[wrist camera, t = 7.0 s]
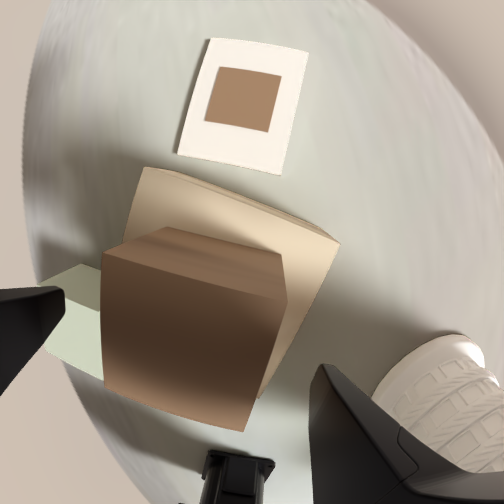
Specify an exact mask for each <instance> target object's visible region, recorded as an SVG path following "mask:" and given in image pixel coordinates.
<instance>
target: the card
mask: <svg viewBox="0 0 504 504" xmlns="http://www.w3.org/2000/svg"><path fill="white" fill-rule="evenodd" d="M308 54H309V52H305V51H301V50H296V49H292V48H287V47H282V46H277V45H271V44H265V43H259V42H252V41H244V40H235V39H225V38H211V40H210V43H209V46H208V48H207V51H206V54H205V57H204V60H203V63H202V66H201V69H200V72H199V75H198V79H197V82H196V85H195V88H194V92H193V95H192V99H191V102H190V106H189V109H188V113H187V116H186V120H185V124H184V128H183V132H182V136H181V140H180V144H179V148H178V152H177V155H180V156H186V157H192V158H198V159H203V160H209V161H214V162H219V163H224V164H229V165H234V166H239V167H244V168H248V169H253V170H257V171H262V172H266V173H271V174H275V175H279V176H281V172H282V167H283V163H284V159H285V155H286V150H287V146H288V142H289V138H290V133H291V129H292V125H293V120H294V116H295V112H296V107H297V103H298V99H299V94H300V90H301V85H302V81H303V77H304V72H305V68H306V63H307V59H308Z"/></svg>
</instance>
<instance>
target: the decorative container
mask: <svg viewBox="0 0 504 504" xmlns="http://www.w3.org/2000/svg"><path fill="white" fill-rule="evenodd" d="M371 400H373V401H374V402H375V403H376V404H377V405H378V406H379V407H381V408H382V409H383V410H384V411H385V412H386V413H387V414H389V415H390V416H391V417H392V418H393V419H394V420H396V421H397V422H398V423H399V424H400V426H403V427H404V428H405V429H406V430H407V431H408V432H410V433H411V434H412V435H413V436H415V437H416V438H417V439H418V440H420V441H421V442H422V443H424V444H425V445H426V446H428V447H429V448H431V449H432V450H434V451H435V452H436V453H438V454H439V455H441V456H442V457H444V458H445V459H447V460H448V461H450V462H452V463H453V464H455V465H456V466H458V467H459V468H461V469H463V470H465V471H468V472H472V473H488V472H498V471H504V390H501V388H500V387H499V384H498V382H497V379H496V377H495V375H494V374H493V373H492V372H491V371H489V370H487V369H485V368H484V355H483V353H482V351H481V349H480V348H479V347H478V346H477V345H476V344H475V343H474V342H473V341H472V340H470V339H469V338H467V337H466V336H464V335H456V334H451V335H446V336H441V337H437V338H435V339H433V340H431V341H429V342H427V343H425V344H422V345H421V346H419V347H418V348H416V349H415V350H414V351H412V352H411V353H409V354H407V355H406V356H405V357H404V358H403V359H402V360H401V361H399V362H398V363H397V364H396V365H395V366H394V367H393V368H392V369H391V370H390V371H389V372H388V373H387V375H386V376H385V377H384V378H383V379H382V381H381V382H380V383H379V385H378V386H377V388H376V390H375V392H374V394H373V395H372V397H371Z"/></svg>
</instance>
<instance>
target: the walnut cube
mask: <svg viewBox="0 0 504 504" xmlns="http://www.w3.org/2000/svg"><path fill="white" fill-rule="evenodd" d="M287 304H288V299H287V291H286V284H285V277H284V270H283V262H282V255H281V254H277V253H273V252H269V251H265V250H261V249H257V248H253V247H249V246H245V245H241V244H236V243H232V242H228V241H224V240H220V239H216V238H212V237H208V236H204V235H200V234H195V233H191V232H187V231H183V230H179V229H175V228H171V227H164V228H161V229H159V230H156V231H154V232H151V233H148V234H146V235H143V236H141V237H138V238H136V239H133V240H131V241H128V242H126V243H123V244H121V245H118V246H116V247H114V248H111V249H109V250H106V251H104V252H102V261H101V281H100V333H101V353H102V366H103V377H104V386H105V388H107V389H109V390H111V391H113V392H116V393H118V394H120V395H123V396H125V397H127V398H130V399H132V400H135V401H137V402H140V403H143V404H145V405H148V406H151V407H154V408H156V409H159V410H162V411H165V412H168V413H171V414H174V415H177V416H181V417H184V418H187V419H191V420H194V421H198V422H202V423H205V424H209V425H213V426H217V427H221V428H226V429H230V430H235V431H240V432H244V429H245V426H246V424H247V421H248V418H249V416H250V413H251V410H252V408H253V405H254V402H255V400H256V397H257V394H258V391H259V388H260V386H261V383H262V380H263V377H264V374H265V371H266V368H267V366H268V363H269V360H270V357H271V354H272V351H273V348H274V345H275V342H276V339H277V336H278V332H279V329H280V326H281V323H282V320H283V317H284V314H285V310H286V307H287Z"/></svg>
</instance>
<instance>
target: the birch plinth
mask: <svg viewBox="0 0 504 504" xmlns="http://www.w3.org/2000/svg"><path fill="white" fill-rule="evenodd" d="M164 227H171V228H175V229H179V230H183V231H187V232H191V233H195V234H200V235H204V236H208V237H212V238H216V239H220V240H224V241H228V242H232V243H236V244H241V245H245V246H249V247H253V248H257V249H261V250H265V251H269V252H273V253H277V254H281V255H282V262H283V270H284V277H285V284H286V291H287V299H288V304H287V307H286V310H285V314H284V317H283V320H282V323H281V326H280V329H279V332H278V336H277V339H276V342H275V345H274V348H273V351H272V354H271V357H270V360H269V363H268V366H267V368H266V371H265V374H264V377H263V380H262V383H261V386H260V388H259V391H258V394H257V397H256V398H258V399H259V398H260V396H261V394H262V393H263V391H264V389H265V388H266V386H267V384H268V383H269V381H270V379H271V378H272V376H273V374H274V373H275V371H276V369H277V367H278V366H279V364H280V362H281V360H282V359H283V357H284V355H285V353H286V352H287V350H288V348H289V346H290V344H291V343H292V341H293V339H294V337H295V335H296V333H297V331H298V330H299V328H300V326H301V324H302V322H303V320H304V318H305V316H306V314H307V312H308V311H309V309H310V307H311V305H312V303H313V301H314V299H315V297H316V295H317V293H318V291H319V289H320V287H321V285H322V283H323V280H324V278H325V276H326V274H327V272H328V270H329V268H330V266H331V264H332V262H333V259H334V257H335V255H336V253H337V251H338V248H339V246H340V243H339V242H338V241H336V240H335V239H334V238H333V237H331V236H330V235H329V234H328V233H327V232H325V231H324V230H323V229H322V228H319V227H317V226H315V225H312V224H310V223H308V222H306V221H303V220H301V219H298V218H296V217H294V216H291V215H289V214H287V213H284V212H282V211H279V210H277V209H275V208H272V207H270V206H267V205H265V204H262V203H260V202H257V201H255V200H252V199H250V198H247V197H245V196H242V195H240V194H237V193H234V192H232V191H229V190H227V189H224V188H221V187H219V186H216V185H213V184H211V183H208V182H205V181H203V180H200V179H197V178H194V177H192V176H189V175H186V174H183V173H180V172H177V171H171V170H165V169H158V168H151V167H145V166H144V168H143V171H142V174H141V177H140V180H139V183H138V186H137V189H136V193H135V196H134V199H133V203H132V206H131V209H130V213H129V216H128V220H127V224H126V228H125V231H124V235H123V239H122V243H121V244H123V243H126V242H128V241H131V240H133V239H136V238H138V237H141V236H143V235H146V234H148V233H151V232H154V231H156V230H159V229H161V228H164Z"/></svg>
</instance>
